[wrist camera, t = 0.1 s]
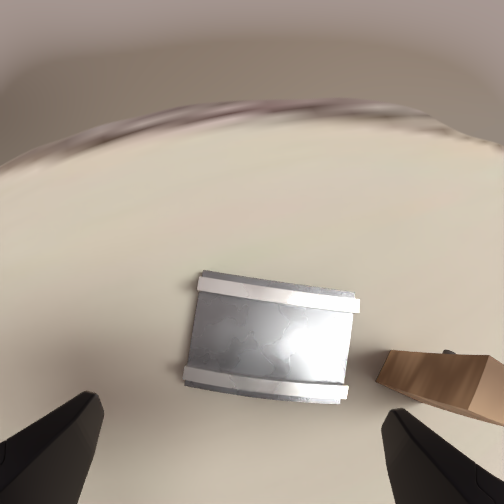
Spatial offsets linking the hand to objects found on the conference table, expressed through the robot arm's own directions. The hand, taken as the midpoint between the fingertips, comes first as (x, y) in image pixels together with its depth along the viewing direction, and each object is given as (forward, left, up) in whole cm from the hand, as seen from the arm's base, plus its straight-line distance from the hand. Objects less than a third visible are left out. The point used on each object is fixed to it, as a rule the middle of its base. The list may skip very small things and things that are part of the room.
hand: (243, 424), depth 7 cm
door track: (0, -4, -15) cm, 15 cm away
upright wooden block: (-8, -12, -15) cm, 21 cm away
